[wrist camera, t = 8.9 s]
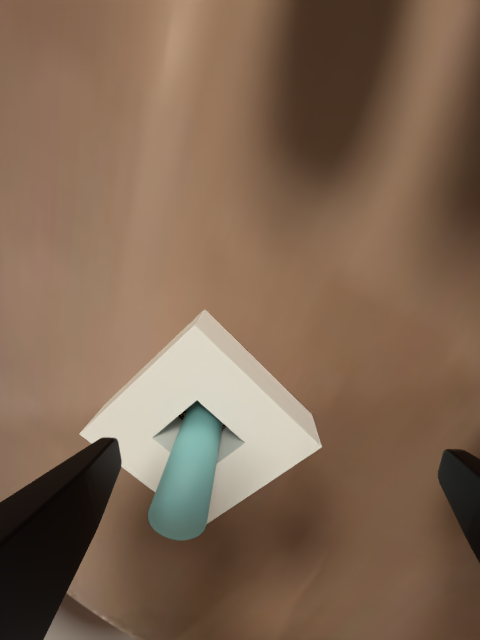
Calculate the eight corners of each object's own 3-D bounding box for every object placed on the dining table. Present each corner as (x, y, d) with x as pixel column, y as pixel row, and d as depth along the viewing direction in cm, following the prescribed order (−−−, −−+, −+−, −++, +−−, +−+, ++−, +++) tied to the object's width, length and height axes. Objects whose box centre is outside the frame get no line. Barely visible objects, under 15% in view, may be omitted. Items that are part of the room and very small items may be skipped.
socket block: (311, 414, 22) (321, 447, 19) (208, 488, 25) (201, 528, 22) (204, 309, 20) (194, 324, 16) (104, 404, 23) (79, 434, 19)
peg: (232, 410, 22) (219, 522, 14) (207, 430, 23) (179, 548, 14) (206, 386, 22) (175, 487, 13) (181, 407, 22) (135, 516, 14)
